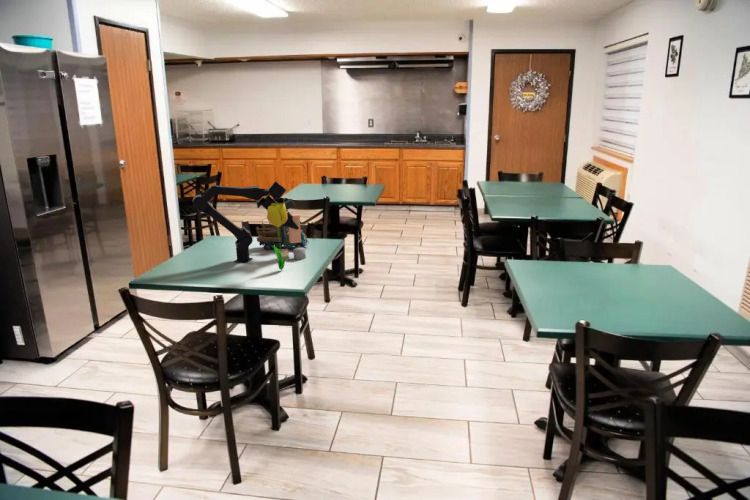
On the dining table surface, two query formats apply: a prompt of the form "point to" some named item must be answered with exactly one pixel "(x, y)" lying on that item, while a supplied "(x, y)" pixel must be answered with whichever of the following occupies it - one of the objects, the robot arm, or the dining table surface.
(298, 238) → the peach block
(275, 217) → the flower
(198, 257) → the dining table surface
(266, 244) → the toy truck
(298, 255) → the grey domed cylinder
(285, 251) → the beech cube
